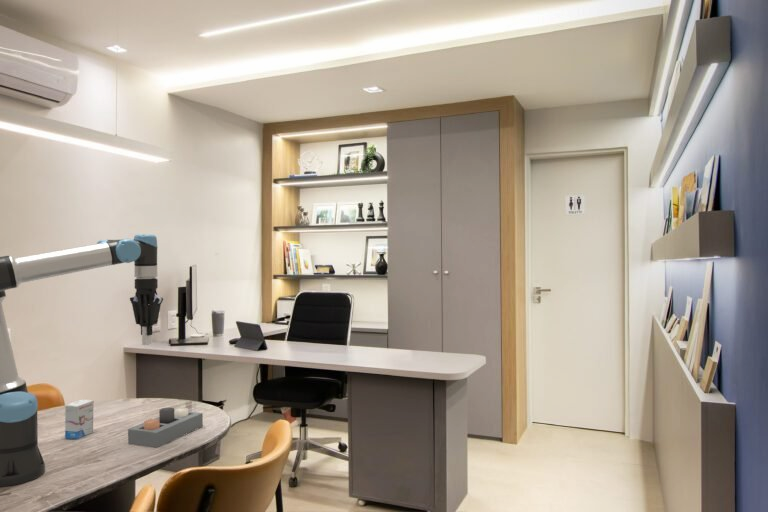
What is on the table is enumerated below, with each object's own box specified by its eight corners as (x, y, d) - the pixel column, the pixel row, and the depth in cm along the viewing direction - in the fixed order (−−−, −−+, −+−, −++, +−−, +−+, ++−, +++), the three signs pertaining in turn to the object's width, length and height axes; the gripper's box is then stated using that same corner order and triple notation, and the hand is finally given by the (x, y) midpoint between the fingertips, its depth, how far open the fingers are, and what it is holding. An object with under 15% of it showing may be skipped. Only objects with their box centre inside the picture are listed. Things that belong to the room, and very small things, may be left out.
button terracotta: (152, 441, 192) (152, 424, 192) (140, 440, 193) (140, 422, 193) (162, 437, 196) (162, 419, 196) (151, 435, 198) (151, 418, 198)
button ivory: (182, 428, 206) (182, 412, 206) (171, 427, 208) (170, 410, 207) (191, 424, 211) (191, 408, 210) (180, 423, 212) (180, 407, 212)
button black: (167, 429, 199) (167, 412, 199) (156, 427, 200) (156, 410, 200) (177, 424, 203) (177, 408, 203) (166, 423, 205) (166, 407, 205)
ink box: (77, 439, 197) (76, 405, 197) (64, 438, 198) (64, 405, 198) (94, 431, 206) (94, 399, 205) (82, 431, 207) (81, 398, 206)
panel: (156, 447, 189) (156, 432, 189) (128, 443, 193) (128, 429, 193) (202, 426, 211) (202, 413, 211) (176, 423, 215) (176, 410, 215)
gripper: (168, 277, 202) (169, 343, 202) (139, 277, 206) (140, 341, 207) (153, 278, 195) (153, 347, 195) (123, 278, 199) (124, 345, 200)
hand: (146, 344), depth 201 cm, fingers closed
